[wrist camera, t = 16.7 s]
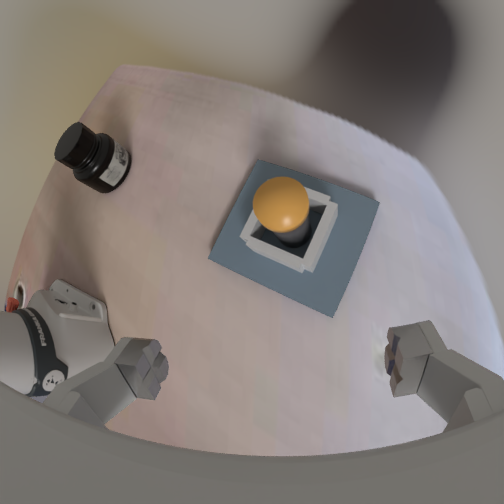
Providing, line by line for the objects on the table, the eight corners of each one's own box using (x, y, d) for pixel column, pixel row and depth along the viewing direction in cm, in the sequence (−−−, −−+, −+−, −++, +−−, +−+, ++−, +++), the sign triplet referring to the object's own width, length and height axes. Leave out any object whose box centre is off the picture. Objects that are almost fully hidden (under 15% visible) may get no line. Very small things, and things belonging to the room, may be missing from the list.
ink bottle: (130, 188, 42) (79, 155, 31) (94, 202, 44) (45, 177, 33) (135, 141, 45) (93, 105, 33) (100, 158, 47) (58, 128, 36)
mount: (212, 260, 35) (194, 252, 31) (261, 165, 36) (250, 144, 32) (332, 317, 30) (332, 318, 25) (378, 206, 31) (384, 189, 26)
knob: (266, 241, 32) (243, 216, 24) (283, 204, 33) (267, 170, 25) (304, 258, 31) (294, 237, 23) (321, 219, 31) (317, 186, 23)
